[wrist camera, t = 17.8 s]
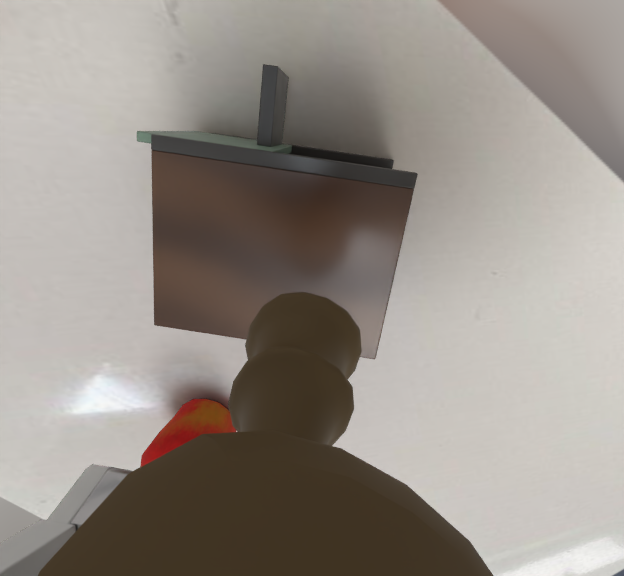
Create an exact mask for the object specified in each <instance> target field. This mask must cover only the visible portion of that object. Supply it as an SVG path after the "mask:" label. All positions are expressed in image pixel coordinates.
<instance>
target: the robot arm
mask: <svg viewBox="0 0 624 576" xmlns="http://www.w3.org/2000/svg"><path fill="white" fill-rule="evenodd" d="M131 472H133V471H130V470H124V469H119V468H114V467H107V466H102V465H96V464H92V465H91V466H89V467H88V468H86V469H85V471H84V472H83V473H82V475H81V476H80V477H79V479H78V480H77V481H76V482H75V484H74V485H73V486H72V488H71V489H70V490H69V492H68V493H67V494H66V496H65V497H64V498H63V499H62V501H61V502H60V503H59V505H58V506H57V507H56V509H55V510H54V511H53V512H52V514H51V515H50V516H49V518H48V519H47V520H42V519H40V520H39V521H37V522H35V523H34V524H32V525H30V526H28V527H27V528H25V529H23V530H22V531H20V532H18V533H17V534H15V535H13V536H12V537H10V538H8V539H6V540H5V541H3V542H1V543H0V576H38V574H39V572H40V570H41V569H42V568H43V567H44V566H45V565H46V564H47V563H48V562H49V561H50V559H51V558H52V557H53V556H54V555H55V554H56V553H57V552H58V551H59V550H60V548H61V547H62V546H63V545H64V544H65V543H66V542H67V541H68V540H69V538H70V537H71V536H72V535H73V534H74V533H75V532H76V531H77V530H78V529H79V527H80V526H81V525H82V524H83V523H84V522H85V521H86V520H87V519H88V518H89V516H90V515H91V514H92V513H93V512H94V511H95V510H96V509H97V508H98V507H99V505H100V504H101V503H102V502H103V501H104V500H105V499H106V498H107V497H108V495H109V494H110V493H111V492H112V491H113V490H114V489H115V488H116V487H117V486H118V484H119V483H120V482H121V481H122V480H123V479H124V478H125V477H126V476H127V475H128V474H129V473H131Z"/></svg>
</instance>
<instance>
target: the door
mask: <svg viewBox="0 0 624 576" xmlns="http://www.w3.org/2000/svg"><path fill="white" fill-rule="evenodd" d="M288 79H289V77H288V76H287V75H286V74H285V73H284V72H283V71H282V70H281V69H280V68H279V67H278V66H272V65H265V64H264V65H263V74H262V86H261V99H260V112H259V125H258V137H257V140H252V139H245V138H239V137H232V136H225V135H218V134H211V133H205V132H198V131H137V141H138V142H145V143H151V134H157V135H164V136H170V137H177V138H184V139H191V140H198V141H204V142H211V143H218V144H225V145H231V146H238V147H245V148H252V149H259V150H265V151H272V152H279V153H286V154H288V153H291V151H292V145H286V144H282V138H283V128H284V118H285V108H286V99H287V89H288Z"/></svg>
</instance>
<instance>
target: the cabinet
mask: <svg viewBox="0 0 624 576" xmlns="http://www.w3.org/2000/svg"><path fill="white" fill-rule="evenodd" d="M211 134H214V133H211ZM218 135H221V134H218ZM225 136H228V135H225ZM232 137H235V136H232ZM239 138H241V137H239ZM245 139H248V138H245ZM252 140H255V139H252ZM286 145H289V144H286ZM151 149H152V205H153V270H154V325H157V326H163V327H170V328H176V329H183V330H189V331H196V332H202V333H209V334H215V335H221V336H228V337H234V338H241V339H247V336H248V331H249V327H250V324H251V323H252V321H253V320H254V318H255V317H256V315H257V314H258V313H259V311H260V310H261V308H262V307H263V305H265V304H266V303H268V302H270V301H271V300H273V299H274V298H276V297H277V296H279V295H280V294H286V293H296V292H307V293H311V294H314V295H318V296H322V297H326V298H328V299H330V300H331V301H333V302H334V303H336V304H338V305H339V306H341V307H342V308H344V309H345V310H347V311H348V313H349V314H350V315H351V317H352V318H353V320H354V321H355V323H356V324H357V325H358V327H359V328H360V334H361V347H362V352H361V355H360V357H363V358H370V359H375V358H376V354H377V349H378V345H379V340H380V336H381V332H382V327H383V323H384V318H385V314H386V310H387V305H388V301H389V296H390V292H391V288H392V283H393V279H394V275H395V270H396V266H397V261H398V257H399V253H400V248H401V244H402V239H403V235H404V231H405V226H406V222H407V217H408V213H409V209H410V204H411V200H412V195H413V191H414V187H415V183H416V178H417V173H415V172H408V171H401V170H394V169H392V167H393V162H394V160H391V159H384V158H377V157H371V156H364V155H357V154H350V153H343V152H337V151H330V150H323V149H316V148H309V147H303V146H296V145H292V151H291V153H288V154H286V153H279V152H272V151H265V150H259V149H252V148H245V147H238V146H231V145H225V144H218V143H211V142H204V141H198V140H191V139H184V138H177V137H170V136H164V135H157V134H151Z"/></svg>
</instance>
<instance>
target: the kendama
mask: <svg viewBox="0 0 624 576" xmlns="http://www.w3.org/2000/svg"><path fill="white" fill-rule="evenodd" d="M245 347H246V352H247V357H248V361H247V362H246V364H245V365H244V366H243V368H242V369H241V371H240V372H239V374H238V375H237V377H236V378H235V380H234V381H233V386H232V390H231V394H230V399H229V404H228V405H229V410H230V415H231V420H232V425H233V427H234V428H235V429H236V430H237V432H229V433H208V434H201V435H200V436H198V437H196V438H194V439H192V440H190V441H188V442H187V443H185V444H183V445H181V446H179V447H177V448H175V449H174V450H172V451H170V452H168V453H166V454H164V455H162V456H161V457H159V458H157V459H155V460H153V461H151V462H149V463H148V464H146V465H144V466H142V467H140V468H138V469H136V470H135V471H133V472H131V473H129V474H128V475H127V476H126V477H125V478H124V479H123V480H122V481H121V482H120V483H119V484H118V486H117V487H116V488H115V489H114V490H113V491H112V492H111V493H110V494H109V495H108V497H107V498H106V499H105V500H104V501H103V502H102V503H101V504H100V505H99V507H98V508H97V509H96V510H95V511H94V512H93V513H92V514H91V515H90V516H89V518H88V519H87V520H86V521H85V522H84V523H83V524H82V525H81V526H80V527H79V529H78V530H77V531H76V532H75V533H74V534H73V535H72V536H71V537H70V538H69V540H68V541H67V542H66V543H65V544H64V545H63V546H62V547H61V548H60V550H59V551H58V552H57V553H56V554H55V555H54V556H53V557H52V558H51V559H50V561H49V562H48V563H47V564H46V565H45V566H44V567H43V568H42V569H41V570H40V572H39V574H38V576H493V574H492V573H491V572H490V570H489V569H488V567H487V566H486V564H485V563H484V561H483V560H482V558H481V557H480V556H479V554H478V553H477V551H476V550H475V548H474V547H473V545H472V544H471V542H470V541H469V540H468V539H466V538H465V537H464V536H463V535H462V534H461V533H460V532H459V531H458V530H456V529H455V528H454V527H453V526H452V525H451V524H450V523H449V522H447V521H446V520H445V519H444V518H443V517H442V516H441V515H440V514H439V513H437V512H436V511H435V510H434V509H433V508H432V507H431V506H430V505H428V504H427V503H426V502H425V501H424V500H423V499H422V498H421V497H420V496H418V495H417V494H416V493H415V492H414V491H413V490H412V489H411V488H409V487H408V486H407V485H406V484H404V483H402V482H400V481H399V480H397V479H395V478H393V477H391V476H390V475H388V474H386V473H384V472H382V471H381V470H379V469H377V468H375V467H373V466H372V465H370V464H368V463H366V462H364V461H363V460H361V459H359V458H357V457H355V456H354V455H352V454H350V453H348V452H346V451H345V450H343V449H340V448H337V447H333V446H332V445H333V444H334V443H335V442H336V441H337V440H338V439H339V437H340V436H341V435H342V434H343V433H344V432H345V431H346V428H347V426H348V423H349V421H350V418H351V415H352V413H353V410H354V400H353V387H352V385H351V384H350V383H349V381H348V380H347V379H348V378H349V377H350V376H351V375H352V373H353V372H354V371H355V369H356V366H357V363H358V360H359V358H360V355H361V352H362V347H361V334H360V328H359V327H358V325H357V324H356V323H355V321H354V320H353V318H352V317H351V315H350V314H349V313H348V311H347V310H345V309H344V308H342V307H341V306H339V305H338V304H336V303H334V302H333V301H331V300H330V299H328V298H326V297H322V296H318V295H314V294H311V293H307V292H296V293H286V294H280V295H279V296H277V297H276V298H274V299H273V300H271V301H270V302H268V303H266V304H265V305H263V307H262V308H261V310H260V311H259V313H258V314H257V315H256V317H255V318H254V320H253V321H252V323H251V324H250V327H249V331H248V336H247V340H246V345H245Z"/></svg>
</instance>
